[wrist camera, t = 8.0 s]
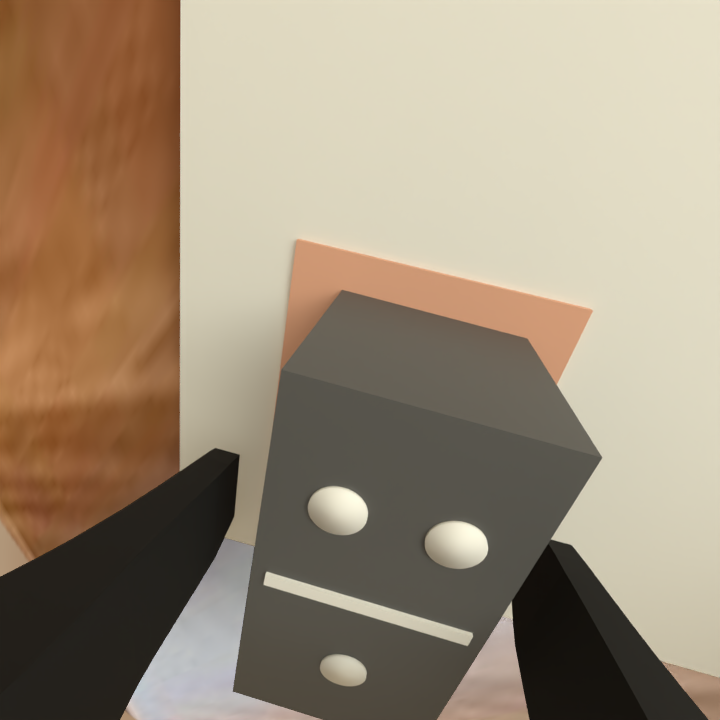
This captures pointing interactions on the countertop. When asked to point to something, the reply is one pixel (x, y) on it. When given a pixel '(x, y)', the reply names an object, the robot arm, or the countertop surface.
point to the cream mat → (475, 238)
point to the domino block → (400, 509)
